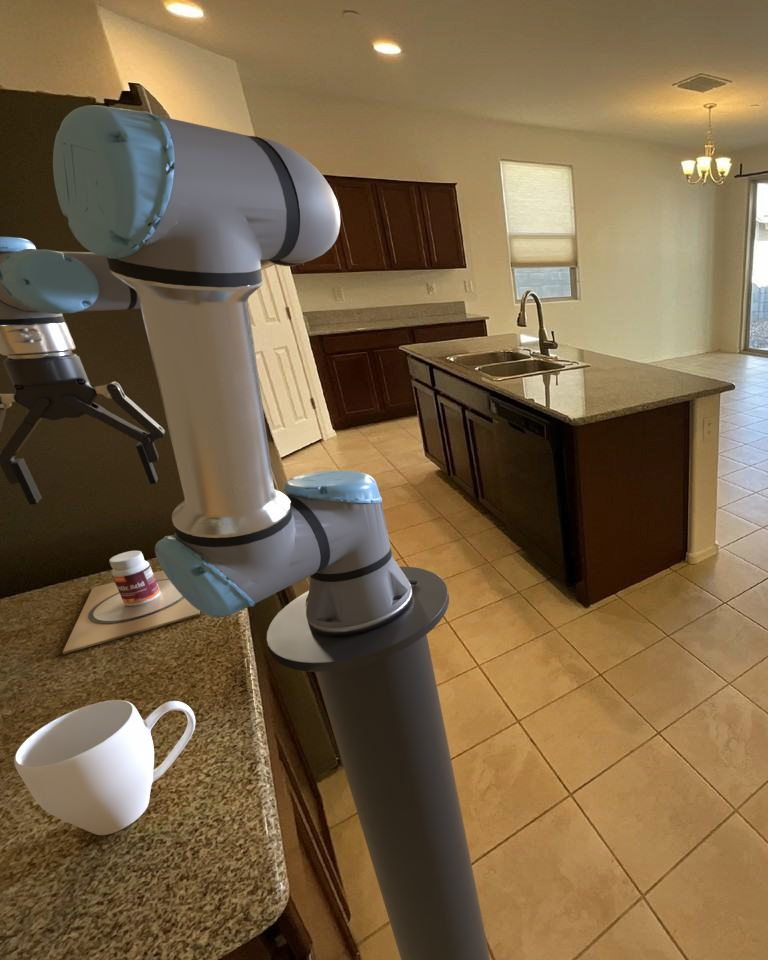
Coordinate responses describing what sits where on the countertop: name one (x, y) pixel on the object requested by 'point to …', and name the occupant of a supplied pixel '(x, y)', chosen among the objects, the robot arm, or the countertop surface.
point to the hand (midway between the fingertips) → (97, 491)
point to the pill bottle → (134, 578)
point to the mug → (97, 764)
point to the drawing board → (126, 614)
